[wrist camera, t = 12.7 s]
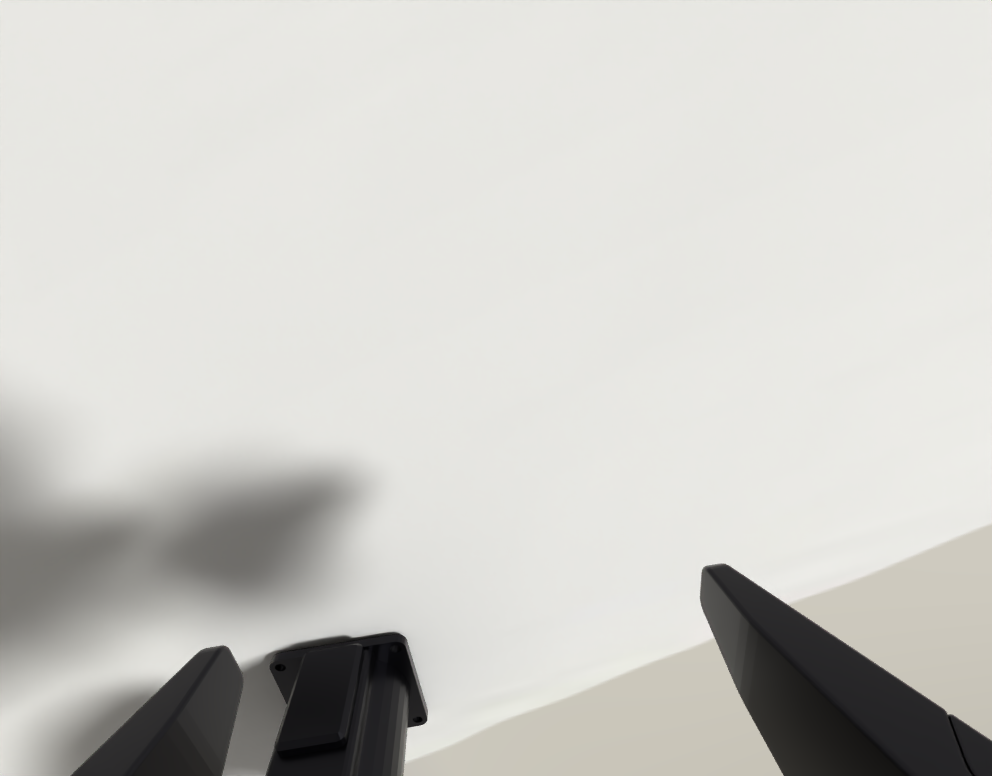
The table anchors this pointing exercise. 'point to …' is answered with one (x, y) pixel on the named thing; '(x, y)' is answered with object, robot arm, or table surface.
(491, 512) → the table surface
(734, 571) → the robot arm
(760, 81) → the table surface
